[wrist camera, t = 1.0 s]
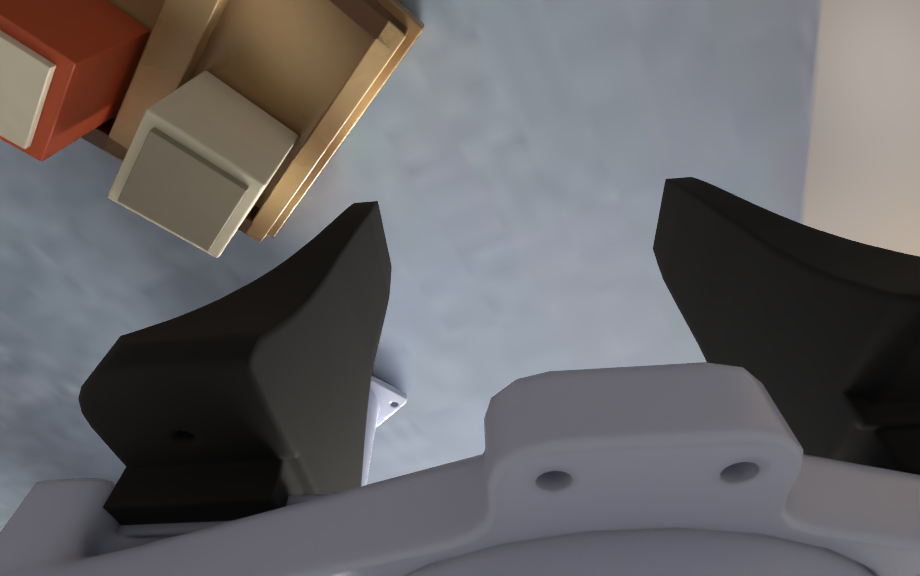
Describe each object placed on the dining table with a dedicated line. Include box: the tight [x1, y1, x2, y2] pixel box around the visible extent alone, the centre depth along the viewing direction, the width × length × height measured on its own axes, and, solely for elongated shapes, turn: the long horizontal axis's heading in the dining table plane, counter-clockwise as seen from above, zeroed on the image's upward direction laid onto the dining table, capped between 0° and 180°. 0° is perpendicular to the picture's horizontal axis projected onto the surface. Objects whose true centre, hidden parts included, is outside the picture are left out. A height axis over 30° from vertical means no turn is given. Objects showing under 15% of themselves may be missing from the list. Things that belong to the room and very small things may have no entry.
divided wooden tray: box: [82, 0, 424, 242], centre depth 18 cm, size 12×13×2 cm
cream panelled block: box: [108, 70, 299, 258], centre depth 19 cm, size 4×4×5 cm
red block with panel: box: [0, 0, 151, 161], centre depth 16 cm, size 4×4×5 cm
